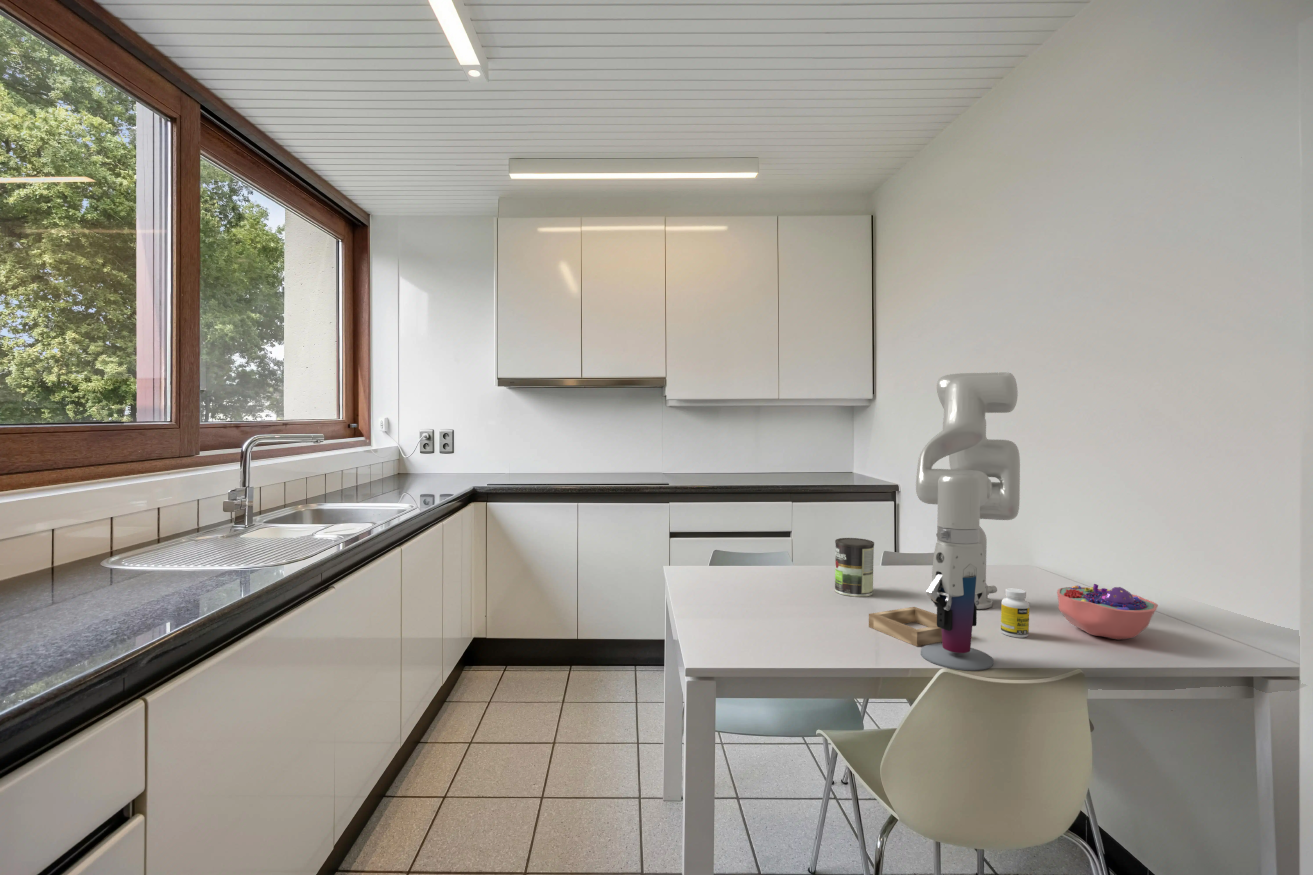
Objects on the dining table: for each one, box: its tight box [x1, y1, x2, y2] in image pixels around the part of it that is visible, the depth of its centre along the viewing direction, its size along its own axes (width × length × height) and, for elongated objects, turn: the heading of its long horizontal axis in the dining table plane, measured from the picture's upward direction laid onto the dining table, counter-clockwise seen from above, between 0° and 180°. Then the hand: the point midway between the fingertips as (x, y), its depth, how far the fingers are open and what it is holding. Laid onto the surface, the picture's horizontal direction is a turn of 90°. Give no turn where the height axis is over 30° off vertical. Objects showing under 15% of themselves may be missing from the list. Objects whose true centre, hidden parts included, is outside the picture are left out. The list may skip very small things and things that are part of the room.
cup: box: [941, 576, 976, 653], centre depth 127 cm, size 7×7×15 cm
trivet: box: [920, 643, 994, 672], centre depth 127 cm, size 13×13×1 cm
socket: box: [868, 606, 942, 647], centre depth 143 cm, size 14×14×3 cm
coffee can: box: [834, 537, 875, 598], centre depth 176 cm, size 10×10×14 cm
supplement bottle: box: [1000, 587, 1030, 639], centre depth 142 cm, size 5×5×10 cm
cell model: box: [1056, 583, 1159, 641], centre depth 142 cm, size 17×20×11 cm
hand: (956, 625), depth 127 cm, fingers closed on cup, 6 cm apart
